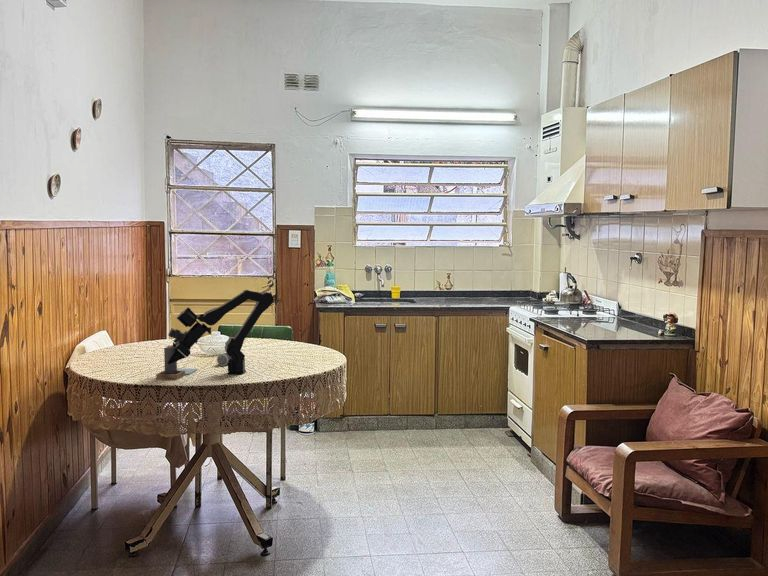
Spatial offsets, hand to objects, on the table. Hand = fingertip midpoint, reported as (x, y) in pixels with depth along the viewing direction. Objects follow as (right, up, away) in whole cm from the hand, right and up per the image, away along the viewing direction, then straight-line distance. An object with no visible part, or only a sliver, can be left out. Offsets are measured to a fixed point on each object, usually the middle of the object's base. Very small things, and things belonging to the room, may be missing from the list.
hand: (167, 361), depth 299 cm
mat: (+3, -6, +11) cm, 13 cm away
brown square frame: (+1, -7, +1) cm, 7 cm away
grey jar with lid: (+1, -7, +1) cm, 7 cm away
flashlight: (+19, -4, +33) cm, 39 cm away
